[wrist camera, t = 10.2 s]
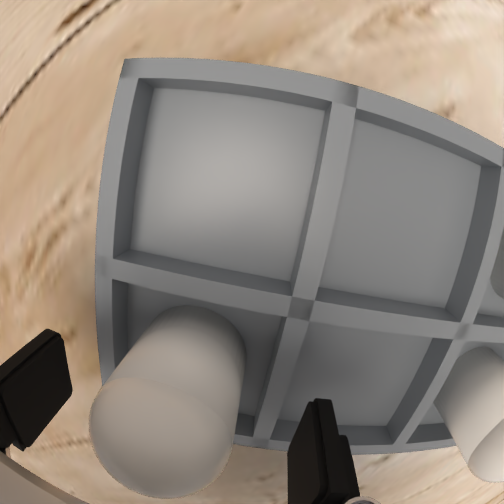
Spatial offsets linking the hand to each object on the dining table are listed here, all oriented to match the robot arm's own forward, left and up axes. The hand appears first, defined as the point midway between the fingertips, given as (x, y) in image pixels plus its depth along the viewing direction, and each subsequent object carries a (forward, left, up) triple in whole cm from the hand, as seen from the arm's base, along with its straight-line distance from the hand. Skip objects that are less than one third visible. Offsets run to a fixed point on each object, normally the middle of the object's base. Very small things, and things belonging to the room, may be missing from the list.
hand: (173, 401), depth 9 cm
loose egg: (0, 0, -3) cm, 3 cm away
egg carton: (+4, -7, -4) cm, 9 cm away
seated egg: (0, -15, -3) cm, 15 cm away
